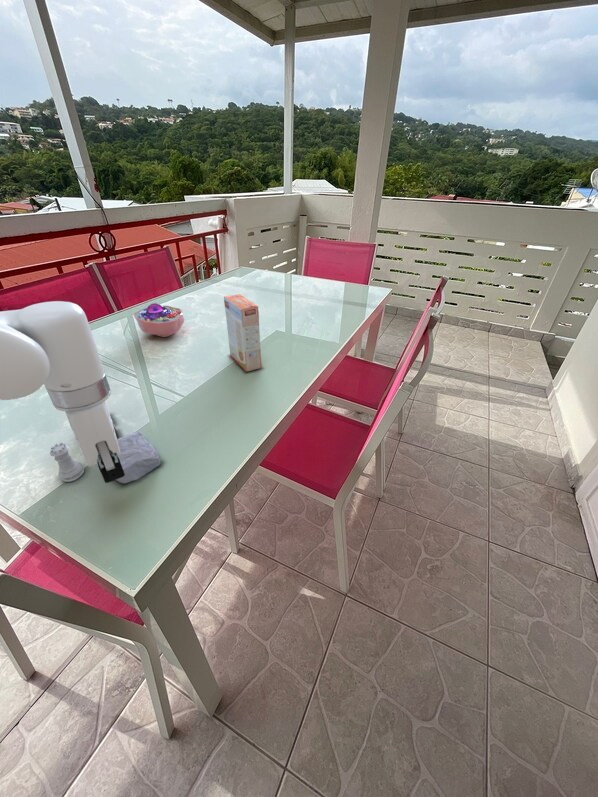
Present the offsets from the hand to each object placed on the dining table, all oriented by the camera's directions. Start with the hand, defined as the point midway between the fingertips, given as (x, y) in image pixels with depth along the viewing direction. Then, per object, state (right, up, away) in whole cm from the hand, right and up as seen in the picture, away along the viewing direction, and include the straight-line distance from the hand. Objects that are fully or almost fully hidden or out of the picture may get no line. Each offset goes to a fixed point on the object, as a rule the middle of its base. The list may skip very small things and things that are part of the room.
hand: (114, 476), depth 58 cm
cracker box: (+15, +26, +53) cm, 61 cm away
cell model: (-20, +39, +71) cm, 84 cm away
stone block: (-4, 0, +14) cm, 15 cm away
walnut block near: (-13, +4, +20) cm, 24 cm away
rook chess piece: (-15, -2, +11) cm, 19 cm away
